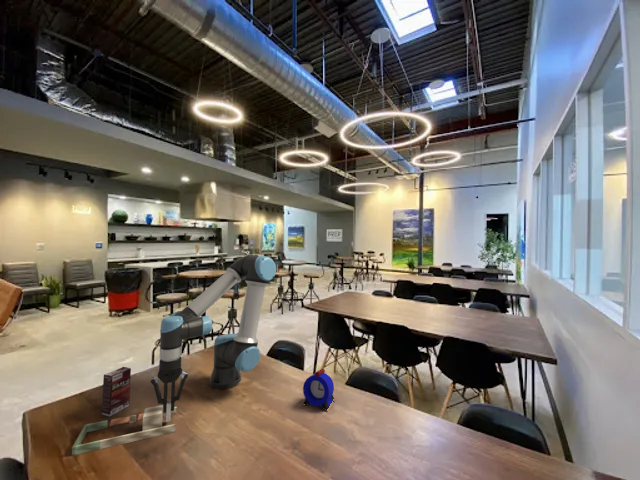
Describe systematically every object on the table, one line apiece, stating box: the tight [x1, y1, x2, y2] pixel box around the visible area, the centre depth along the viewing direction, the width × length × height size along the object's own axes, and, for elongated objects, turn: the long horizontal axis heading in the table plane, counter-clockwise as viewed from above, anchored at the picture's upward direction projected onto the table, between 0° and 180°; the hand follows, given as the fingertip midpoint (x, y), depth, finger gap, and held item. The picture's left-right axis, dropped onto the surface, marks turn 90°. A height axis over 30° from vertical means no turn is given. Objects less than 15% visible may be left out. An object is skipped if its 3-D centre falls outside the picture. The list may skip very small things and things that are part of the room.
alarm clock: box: [302, 368, 335, 411], centre depth 127 cm, size 12×12×15 cm
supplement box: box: [101, 366, 132, 417], centre depth 117 cm, size 9×5×16 cm, turn 163°
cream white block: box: [142, 404, 164, 431], centre depth 107 cm, size 6×6×6 cm
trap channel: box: [71, 406, 178, 456], centre depth 106 cm, size 30×17×2 cm, turn 115°
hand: (168, 419), depth 109 cm, fingers closed
